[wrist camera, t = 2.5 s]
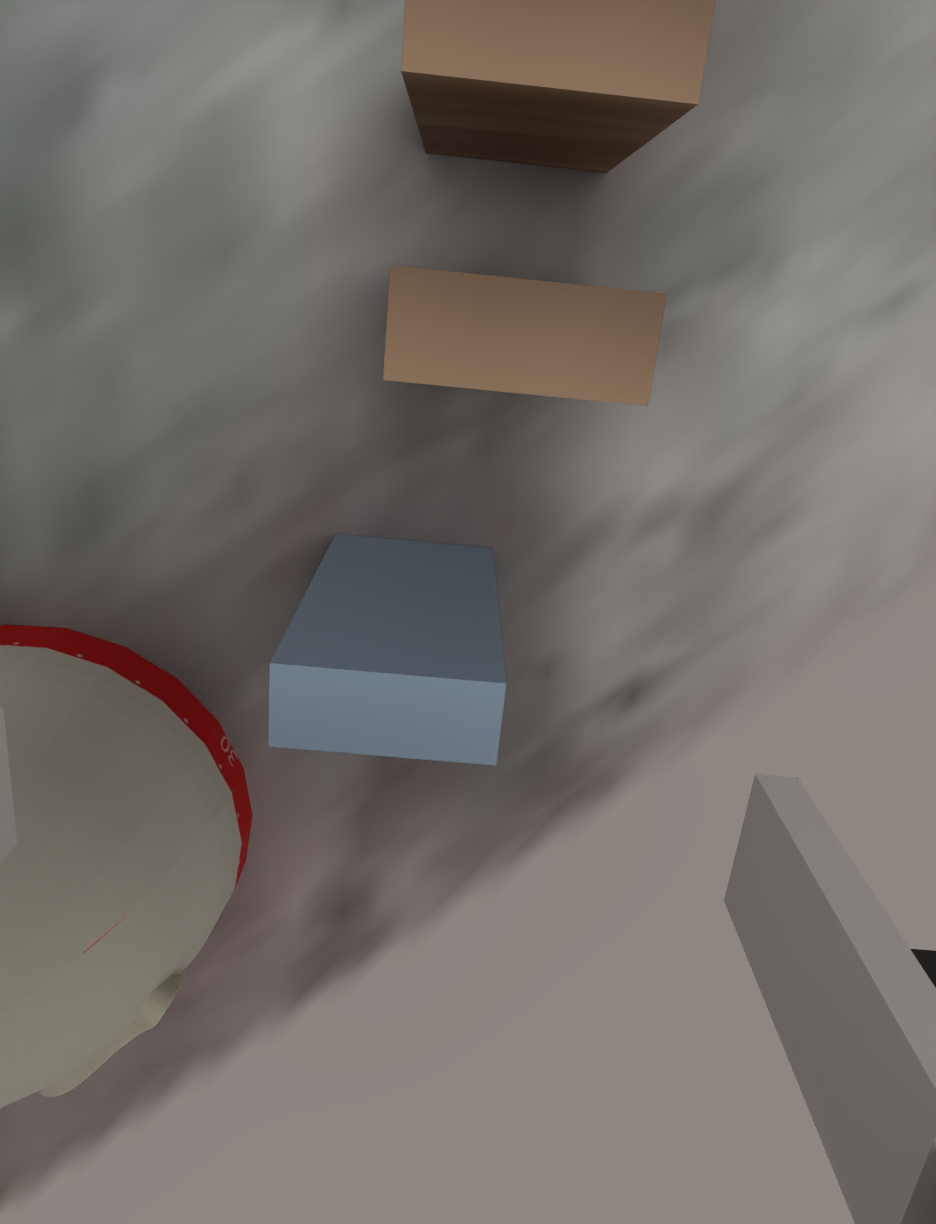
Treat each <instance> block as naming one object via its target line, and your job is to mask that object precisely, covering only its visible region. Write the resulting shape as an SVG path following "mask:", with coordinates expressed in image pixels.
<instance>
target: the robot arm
mask: <svg viewBox="0 0 936 1224" xmlns="http://www.w3.org/2000/svg"><path fill="white" fill-rule="evenodd" d="M16 844H17V834H16V824H15V815H14V805H13V796H12V786H11V777H10V768H9V758H8V749H7V739H6V730H5V721H4V711H3V709H2V708H0V864H1V862H2V861H3V860H4V859H5V857H6V856H7V855H8V854H9V852H10V851H11V850H12V849H13V847H14V846H15V845H16ZM724 902H725V904H726V907H727V909H728V912H729V914H730V916H731V919H732V921H733V924H734V926H735V929H736V931H737V934H738V936H739V939H740V941H741V944H742V946H743V949H744V951H745V953H746V956H747V958H748V961H749V963H750V966H751V968H752V971H753V973H754V975H755V978H756V981H757V983H758V985H759V988H760V991H761V993H762V995H763V998H764V1000H765V1003H766V1005H767V1008H768V1010H769V1013H770V1015H771V1018H772V1020H773V1023H774V1025H775V1028H776V1030H777V1032H778V1035H779V1037H780V1040H781V1042H782V1045H783V1047H784V1050H785V1052H786V1055H787V1057H788V1060H789V1062H790V1065H791V1067H792V1069H793V1072H794V1074H795V1077H796V1079H797V1082H798V1084H799V1087H800V1089H801V1092H802V1094H803V1097H804V1099H805V1101H806V1104H807V1106H808V1109H809V1111H810V1114H811V1116H812V1119H813V1121H814V1124H815V1126H816V1128H817V1131H818V1133H819V1136H820V1139H821V1141H822V1143H823V1146H824V1148H825V1151H826V1153H827V1156H828V1158H829V1161H830V1163H831V1166H832V1168H833V1170H834V1173H835V1175H836V1178H837V1180H838V1183H839V1186H840V1188H841V1190H842V1193H843V1195H844V1198H845V1200H846V1203H847V1205H848V1208H849V1210H850V1213H851V1215H852V1218H853V1220H854V1223H855V1224H936V951H930V950H918V949H910V948H909V946H908V945H907V943H906V942H905V940H904V939H903V937H902V936H901V934H900V933H899V931H898V930H897V928H896V927H895V925H894V924H893V922H892V920H891V919H890V917H889V916H888V914H887V913H886V911H885V910H884V908H883V907H882V905H881V904H880V902H879V901H878V899H877V898H876V896H875V895H874V893H873V892H872V890H871V888H870V887H869V885H868V884H867V882H866V881H865V879H864V878H863V876H862V875H861V873H860V872H859V870H858V868H857V867H856V865H855V864H854V862H853V861H852V859H851V858H850V856H849V855H848V853H847V852H846V850H845V849H844V847H843V845H842V844H841V843H840V841H839V839H838V838H837V836H836V835H835V833H834V832H833V830H832V829H831V827H830V826H829V824H828V823H827V821H826V820H825V818H824V816H823V815H822V813H821V812H820V811H819V809H818V807H817V806H816V805H815V803H814V801H813V800H812V798H811V797H810V795H809V793H808V792H807V791H806V789H805V787H804V786H803V784H802V783H801V781H800V780H799V778H797V777H787V776H774V775H764V774H755V778H754V781H753V786H752V789H751V793H750V798H749V802H748V806H747V810H746V814H745V818H744V822H743V826H742V830H741V834H740V838H739V843H738V846H737V850H736V855H735V858H734V863H733V867H732V870H731V875H730V879H729V883H728V887H727V891H726V895H725V899H724Z"/></svg>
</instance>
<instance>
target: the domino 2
mask: <svg viewBox="0 0 936 1224" xmlns="http://www.w3.org/2000/svg"><path fill="white" fill-rule="evenodd" d="M714 5H715V0H405V17H404V33H403V50H402V67H401V72H402V75H403V78H404V82H405V85H406V88H407V92H408V95H409V98H410V102H411V105H412V108H413V112H414V115H415V118H416V122H417V125H418V128H419V132H420V135H421V138H422V142H423V145H424V148H425V152H426V153H430V154H439V155H449V156H458V157H467V158H476V159H485V160H495V161H504V162H513V163H522V164H531V165H541V166H550V167H559V168H568V169H577V170H587V171H596V172H605V173H607V172H609V171H610V170H611V169H612V168H614V167H615V166H616V165H618V164H619V163H620V162H622V161H623V160H624V159H626V158H627V157H628V156H630V155H631V154H632V153H634V152H635V151H636V150H638V149H639V148H640V147H642V146H643V145H644V144H646V143H647V142H648V141H650V140H651V139H652V138H654V137H655V136H656V135H658V134H659V133H660V132H662V131H663V130H664V129H666V128H667V127H668V126H670V125H671V124H672V123H674V122H675V121H676V120H678V119H679V118H680V117H682V116H683V115H684V114H686V113H687V112H688V111H690V110H691V109H692V108H694V107H695V106H696V105H698V101H699V95H700V89H701V83H702V77H703V71H704V65H705V59H706V53H707V47H708V41H709V35H710V29H711V23H712V17H713V11H714Z"/></svg>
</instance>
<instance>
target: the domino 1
mask: <svg viewBox="0 0 936 1224" xmlns="http://www.w3.org/2000/svg"><path fill="white" fill-rule="evenodd" d="M505 691H506V675H505V665H504V655H503V646H502V636H501V626H500V617H499V607H498V597H497V588H496V578H495V568H494V559H493V549H492V548H488V547H477V546H467V545H456V544H445V543H434V542H423V541H412V540H401V539H390V538H379V537H368V536H358V535H347V534H335V536H334V538H333V540H332V542H331V544H330V546H329V548H328V550H327V552H326V554H325V556H324V557H323V559H322V561H321V563H320V565H319V567H318V569H317V571H316V573H315V575H314V577H313V579H312V581H311V583H310V585H309V587H308V589H307V591H306V593H305V595H304V597H303V599H302V601H301V603H300V605H299V607H298V609H297V611H296V613H295V615H294V616H293V618H292V620H291V622H290V624H289V626H288V628H287V630H286V632H285V634H284V636H283V638H282V640H281V642H280V644H279V646H278V648H277V650H276V652H275V654H274V656H273V658H272V660H271V662H270V677H269V737H268V747H279V748H291V749H303V750H315V751H328V752H340V753H352V754H364V755H376V756H388V757H400V758H413V759H425V760H437V761H449V762H461V763H473V764H485V765H496V764H497V755H498V747H499V739H500V731H501V723H502V715H503V707H504V699H505Z"/></svg>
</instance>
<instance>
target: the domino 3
mask: <svg viewBox="0 0 936 1224" xmlns="http://www.w3.org/2000/svg"><path fill="white" fill-rule="evenodd" d="M666 296H667V294H665V293H655V292H645V291H636V290H626V289H616V288H607V287H597V286H587V285H578V284H568V283H558V282H549V281H539V280H530V279H520V278H510V277H501V276H491V275H481V274H472V273H462V272H452V271H443V270H433V269H423V268H414V267H404V266H394V265H390V274H389V291H388V307H387V324H386V341H385V357H384V374H383V380H388V381H398V382H408V383H419V384H429V385H439V386H449V387H459V388H469V389H479V390H490V391H500V392H510V393H520V394H530V395H540V396H551V397H561V398H571V399H581V400H591V401H601V402H611V403H622V404H632V405H642V406H648V403H649V397H650V391H651V385H652V379H653V373H654V367H655V361H656V355H657V349H658V343H659V337H660V331H661V325H662V320H663V314H664V308H665V302H666Z"/></svg>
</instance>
